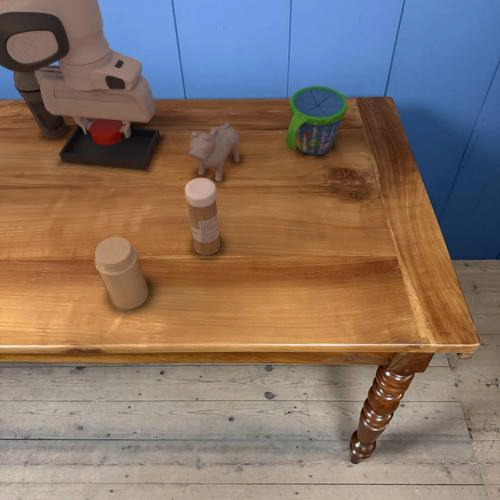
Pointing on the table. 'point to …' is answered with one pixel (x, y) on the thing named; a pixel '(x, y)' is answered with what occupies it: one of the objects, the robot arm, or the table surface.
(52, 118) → the beverage cup
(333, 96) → the snack cup
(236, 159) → the dog figurine
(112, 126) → the lid
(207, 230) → the sprinkles bottle
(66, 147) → the tray
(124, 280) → the jar
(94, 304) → the table surface
